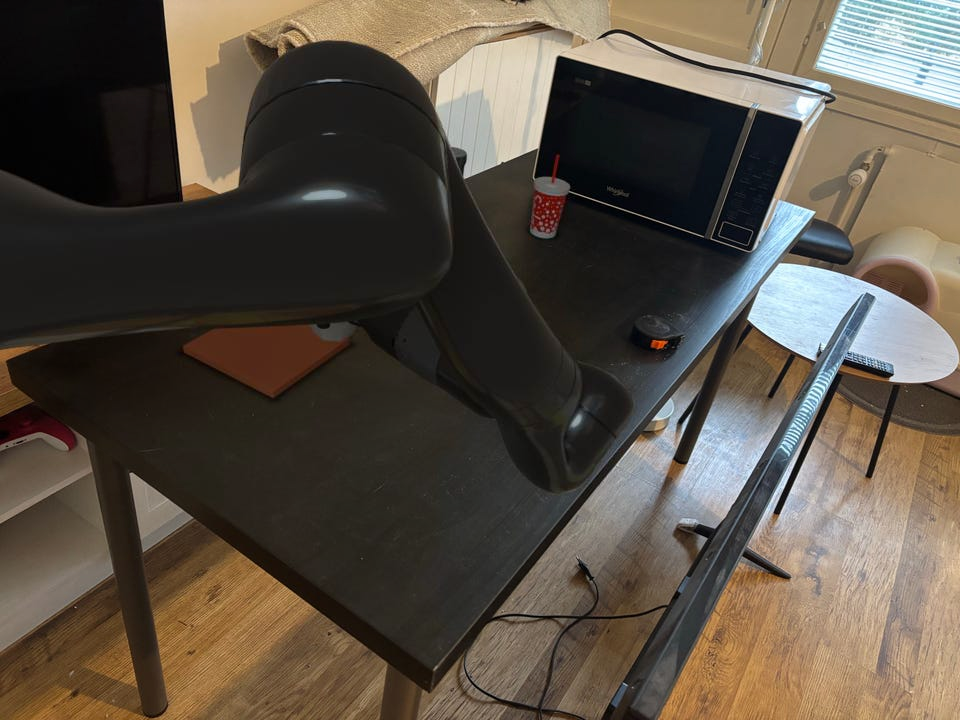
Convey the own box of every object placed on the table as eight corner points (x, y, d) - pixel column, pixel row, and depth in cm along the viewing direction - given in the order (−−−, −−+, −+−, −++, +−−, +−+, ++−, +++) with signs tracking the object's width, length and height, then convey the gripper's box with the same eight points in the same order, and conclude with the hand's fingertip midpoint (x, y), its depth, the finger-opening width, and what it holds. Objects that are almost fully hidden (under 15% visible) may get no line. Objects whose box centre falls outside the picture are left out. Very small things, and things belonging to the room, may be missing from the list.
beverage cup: (525, 222, 131) (539, 146, 123) (559, 227, 132) (575, 151, 124) (525, 237, 126) (540, 158, 118) (560, 242, 127) (577, 164, 119)
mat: (273, 398, 84) (272, 391, 83) (183, 352, 89) (182, 345, 88) (349, 344, 94) (349, 338, 94) (265, 305, 99) (265, 299, 98)
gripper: (488, 275, 69) (371, 208, 78) (371, 322, 60) (254, 240, 69) (478, 341, 74) (368, 270, 83) (367, 394, 65) (258, 308, 74)
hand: (316, 257), depth 76 cm, fingers closed on salt shaker, 3 cm apart
